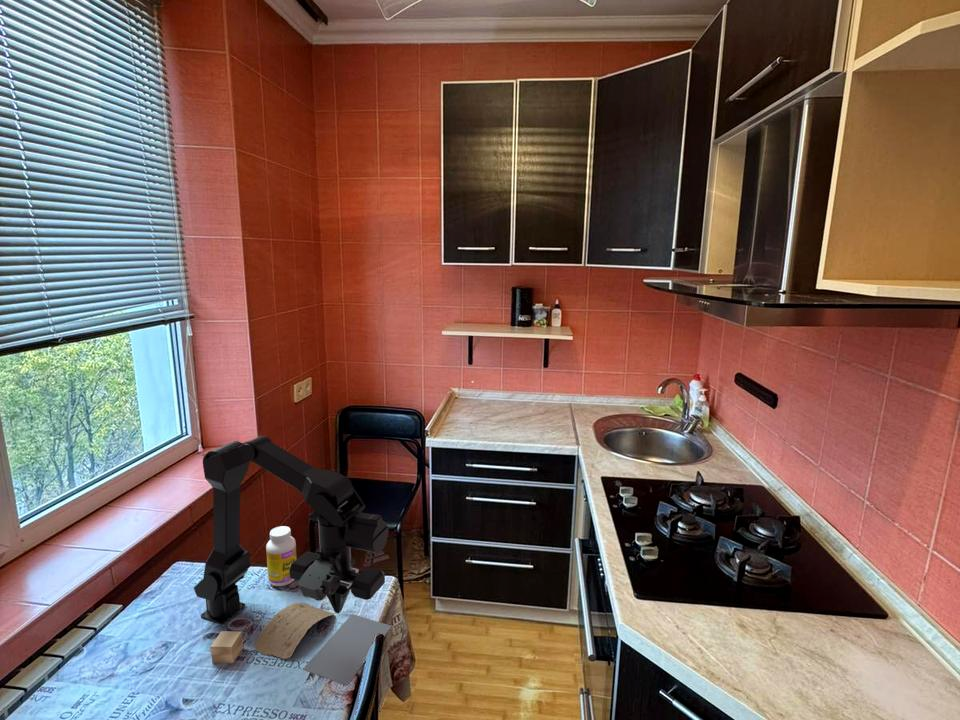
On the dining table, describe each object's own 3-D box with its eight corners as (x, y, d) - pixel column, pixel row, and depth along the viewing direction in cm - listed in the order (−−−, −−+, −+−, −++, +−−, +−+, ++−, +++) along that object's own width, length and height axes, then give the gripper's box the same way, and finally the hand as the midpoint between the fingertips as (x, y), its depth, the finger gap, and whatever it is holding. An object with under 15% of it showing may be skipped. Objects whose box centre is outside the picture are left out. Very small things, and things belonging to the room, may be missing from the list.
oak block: (212, 664, 94) (210, 646, 94) (223, 648, 98) (221, 631, 97) (233, 665, 94) (231, 647, 94) (243, 648, 98) (241, 631, 97)
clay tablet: (289, 662, 95) (288, 650, 94) (250, 647, 98) (249, 635, 98) (337, 614, 108) (336, 603, 107) (301, 602, 111) (300, 592, 111)
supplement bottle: (283, 590, 115) (279, 541, 113) (262, 583, 118) (258, 534, 116) (303, 574, 122) (300, 527, 119) (283, 567, 124) (280, 521, 122)
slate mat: (302, 670, 93) (302, 669, 93) (352, 615, 108) (352, 613, 108) (347, 686, 90) (346, 685, 90) (391, 627, 104) (391, 625, 104)
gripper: (265, 553, 90) (271, 627, 93) (351, 576, 84) (354, 654, 87) (306, 523, 100) (310, 591, 103) (385, 542, 94) (387, 613, 97)
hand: (338, 611), depth 97 cm, fingers closed
